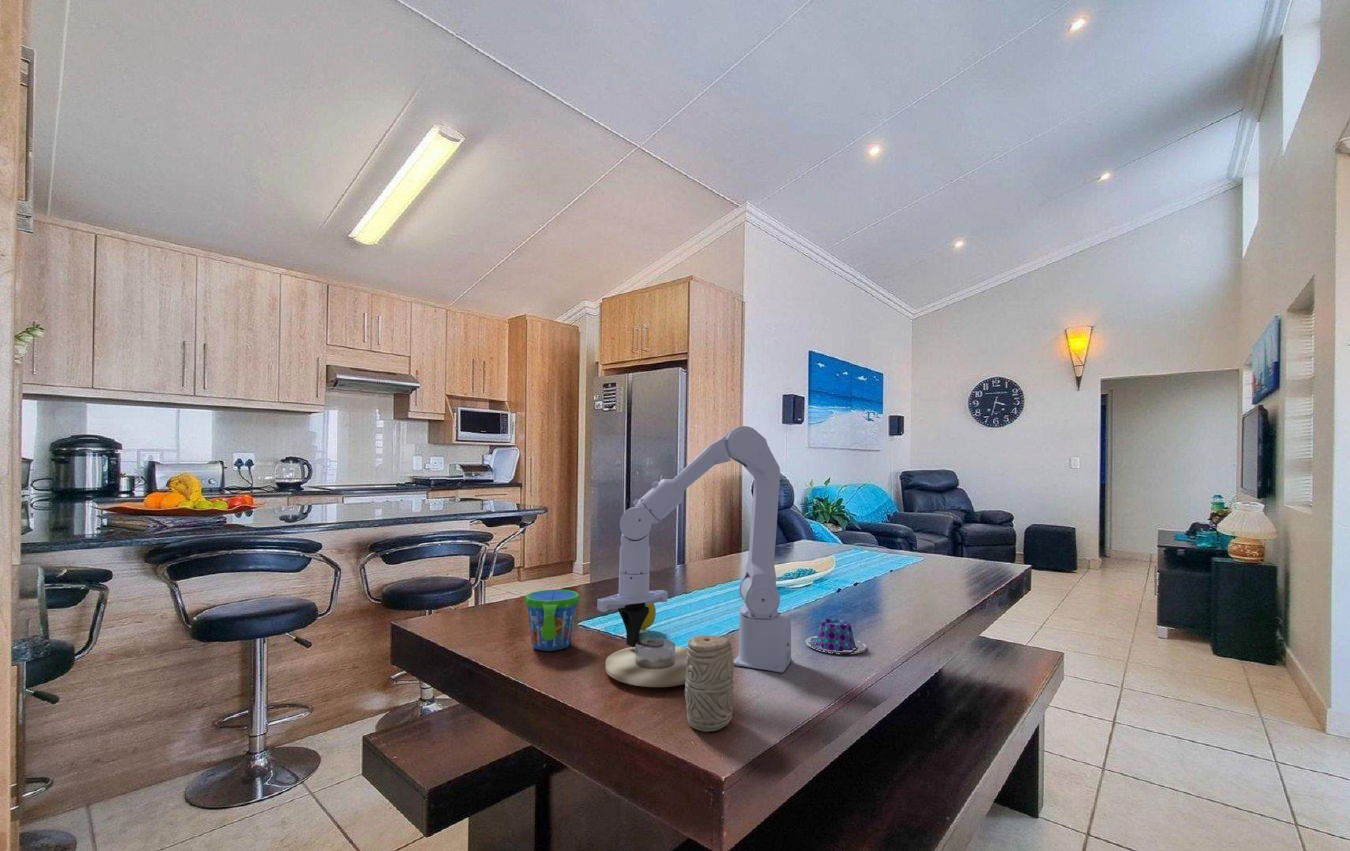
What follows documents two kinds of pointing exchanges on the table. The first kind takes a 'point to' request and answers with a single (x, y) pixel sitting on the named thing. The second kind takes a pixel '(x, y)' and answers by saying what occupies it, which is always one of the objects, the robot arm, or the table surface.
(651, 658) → the cover
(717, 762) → the table surface
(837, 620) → the polka dot fedora
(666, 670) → the turntable
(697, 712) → the carving
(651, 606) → the lemon
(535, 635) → the snack cup
